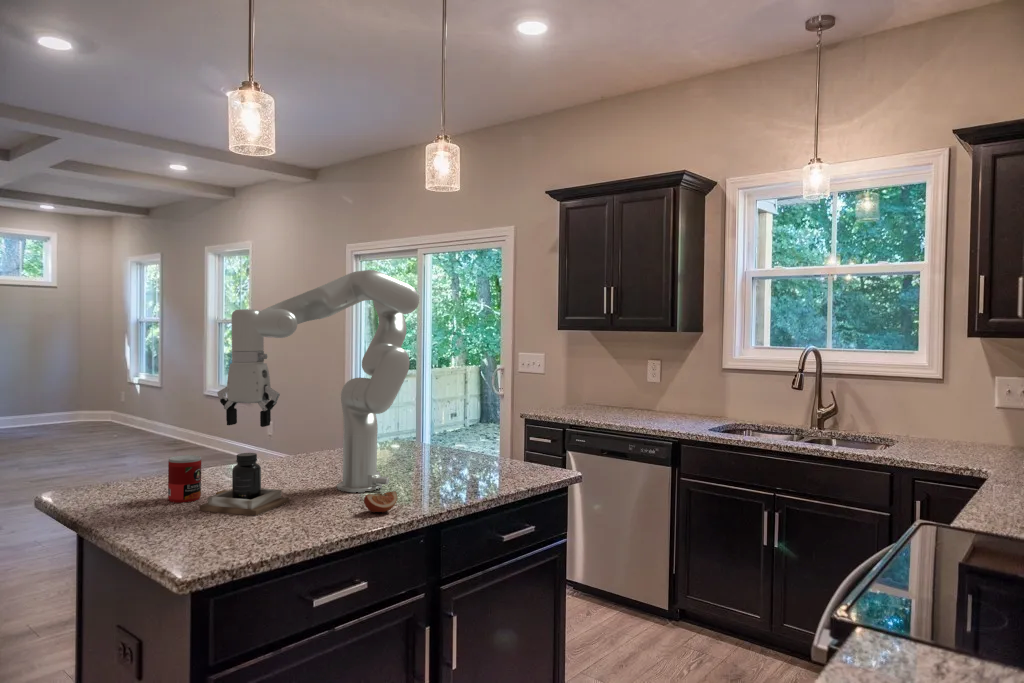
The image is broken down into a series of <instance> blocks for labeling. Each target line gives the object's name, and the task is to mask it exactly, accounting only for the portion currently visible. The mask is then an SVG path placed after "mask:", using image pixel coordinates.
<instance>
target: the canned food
mask: <svg viewBox="0 0 1024 683" xmlns="http://www.w3.org/2000/svg"><path fill="white" fill-rule="evenodd" d="M167 464H168V466H167V468H168V471H167V475H168V476H167V479H168V480H167V499H168V501H169V502H170V503H173V502H174V504H175V503H176V504H183V502H187V503H191V502H192V501H193V502H196V500H197V501H199V500H200V499H201V496H202V456H200V455H196V454H195V455H194V454H191V455H190V454H186V455H176V456H172V457H169V458H168V463H167ZM198 499H199V500H198ZM193 502H192V503H193Z"/></svg>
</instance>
